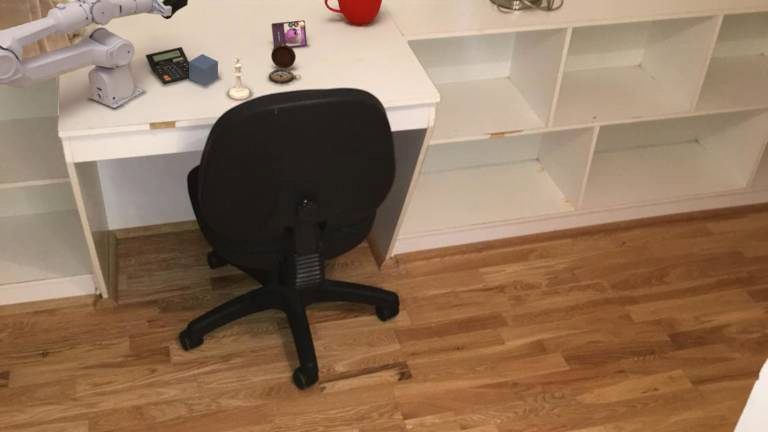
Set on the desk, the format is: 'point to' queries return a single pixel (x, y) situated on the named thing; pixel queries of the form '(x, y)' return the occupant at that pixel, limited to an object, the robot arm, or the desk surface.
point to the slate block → (203, 70)
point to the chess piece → (238, 82)
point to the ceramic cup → (358, 10)
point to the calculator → (169, 65)
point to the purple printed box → (288, 33)
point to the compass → (282, 64)
